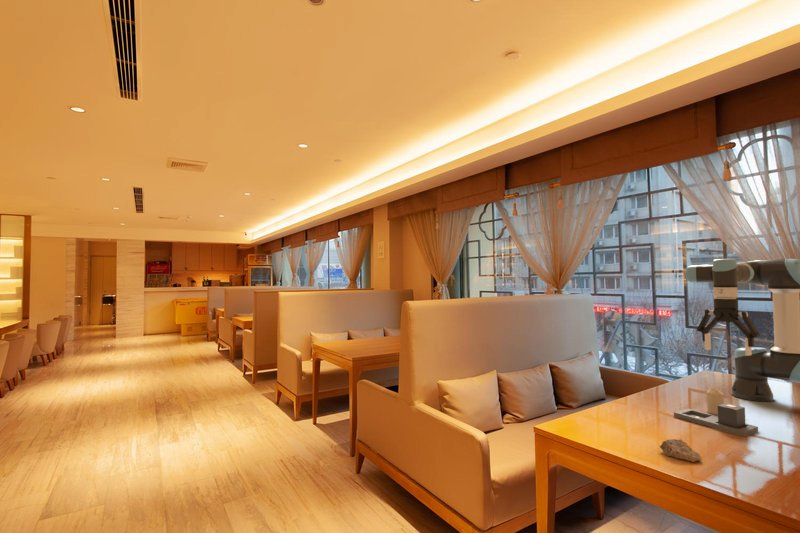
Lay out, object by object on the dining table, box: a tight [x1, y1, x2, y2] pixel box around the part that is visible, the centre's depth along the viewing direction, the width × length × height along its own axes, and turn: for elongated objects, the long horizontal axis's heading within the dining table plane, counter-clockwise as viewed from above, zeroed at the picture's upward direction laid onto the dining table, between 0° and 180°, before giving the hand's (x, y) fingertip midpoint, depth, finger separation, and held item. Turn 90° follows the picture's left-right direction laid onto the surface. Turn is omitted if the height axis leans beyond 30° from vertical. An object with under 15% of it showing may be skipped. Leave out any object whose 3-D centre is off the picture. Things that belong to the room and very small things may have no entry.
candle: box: [706, 388, 725, 416], centre depth 170 cm, size 6×6×10 cm
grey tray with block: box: [673, 402, 759, 437], centre depth 158 cm, size 10×24×9 cm, turn 27°
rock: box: [659, 438, 703, 463], centre depth 131 cm, size 9×6×10 cm
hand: (727, 352), depth 158 cm, fingers open, 13 cm apart
